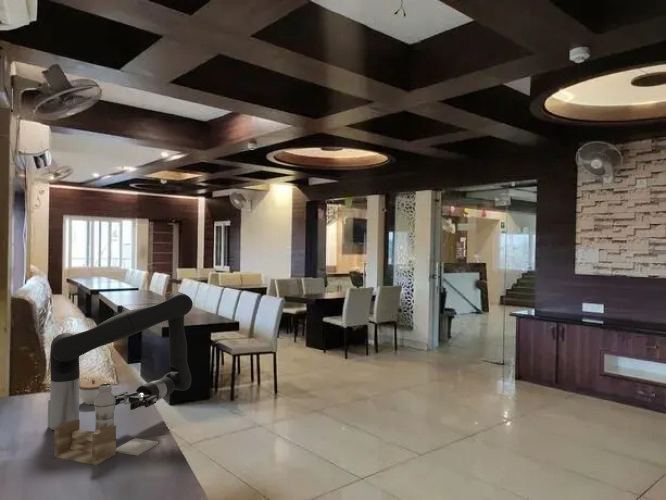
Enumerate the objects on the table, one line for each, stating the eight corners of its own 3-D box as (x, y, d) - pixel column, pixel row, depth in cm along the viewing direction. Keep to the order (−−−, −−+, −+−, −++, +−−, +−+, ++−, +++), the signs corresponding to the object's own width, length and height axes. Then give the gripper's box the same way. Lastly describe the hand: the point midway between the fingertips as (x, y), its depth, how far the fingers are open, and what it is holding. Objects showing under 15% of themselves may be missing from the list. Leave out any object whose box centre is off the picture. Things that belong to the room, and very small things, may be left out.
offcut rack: (54, 457, 150) (54, 427, 150) (75, 447, 158) (75, 418, 158) (96, 465, 146) (96, 434, 146) (115, 454, 153) (116, 425, 153)
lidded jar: (82, 399, 207) (82, 377, 207) (109, 397, 210) (110, 375, 209) (75, 407, 197) (75, 384, 197) (104, 405, 199) (104, 382, 199)
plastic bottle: (107, 451, 156) (108, 388, 156) (88, 448, 157) (89, 386, 157) (119, 443, 162) (120, 383, 162) (101, 441, 163) (102, 381, 163)
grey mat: (113, 451, 155) (113, 449, 155) (135, 439, 165) (135, 438, 165) (137, 455, 153) (137, 453, 153) (157, 443, 162) (157, 441, 162)
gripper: (135, 380, 184) (103, 392, 168) (168, 384, 180) (138, 396, 164) (135, 400, 184) (103, 414, 169) (167, 404, 180) (137, 419, 164)
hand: (120, 405), depth 166 cm, fingers open, 8 cm apart
